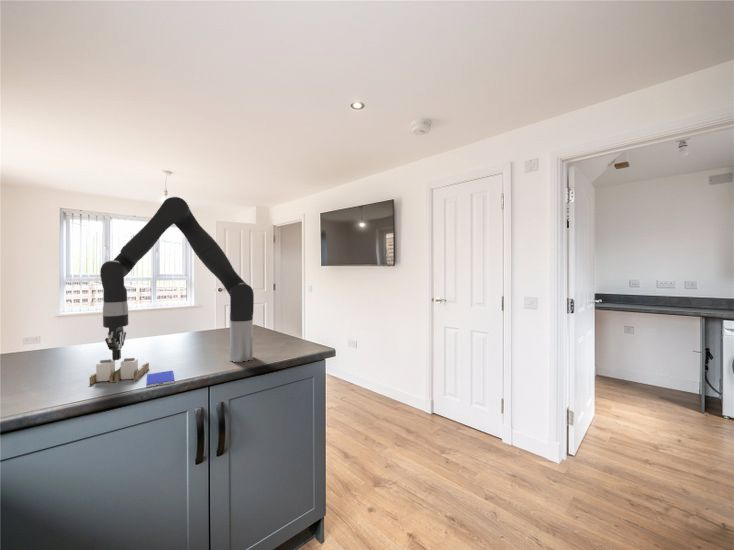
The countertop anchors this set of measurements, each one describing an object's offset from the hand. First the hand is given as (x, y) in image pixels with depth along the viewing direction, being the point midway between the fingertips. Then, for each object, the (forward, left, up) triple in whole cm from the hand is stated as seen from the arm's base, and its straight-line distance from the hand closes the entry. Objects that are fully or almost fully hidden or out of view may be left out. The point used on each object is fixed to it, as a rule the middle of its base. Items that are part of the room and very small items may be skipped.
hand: (116, 359), depth 122 cm
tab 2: (-7, +9, -5) cm, 12 cm away
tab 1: (0, +9, -5) cm, 10 cm away
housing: (0, +5, -5) cm, 7 cm away
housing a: (-7, +5, -5) cm, 10 cm away
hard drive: (-18, +14, -6) cm, 23 cm away
